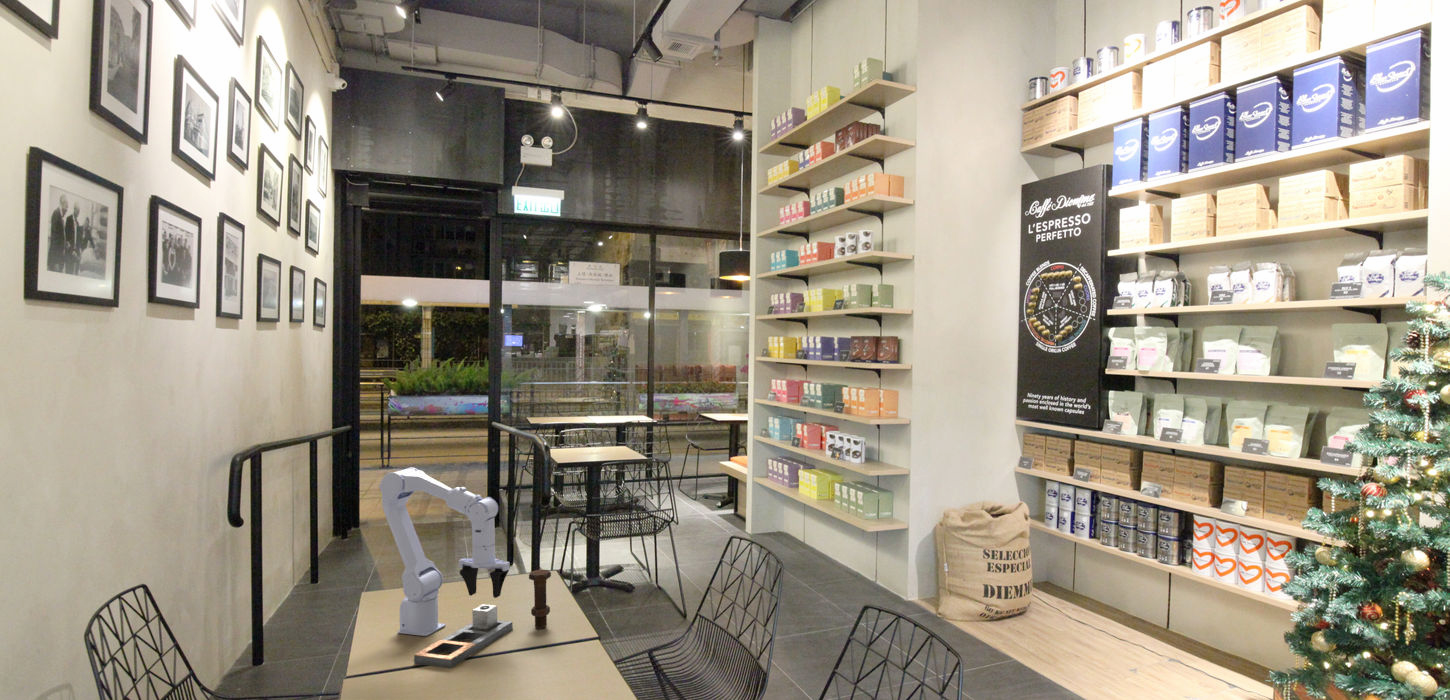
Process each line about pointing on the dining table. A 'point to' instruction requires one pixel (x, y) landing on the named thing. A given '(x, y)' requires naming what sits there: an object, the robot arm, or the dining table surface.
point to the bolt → (540, 597)
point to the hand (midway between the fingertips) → (484, 595)
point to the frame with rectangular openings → (460, 645)
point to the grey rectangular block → (484, 618)
